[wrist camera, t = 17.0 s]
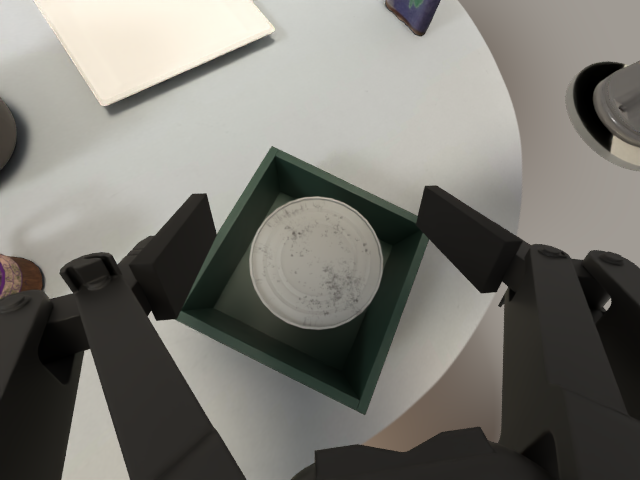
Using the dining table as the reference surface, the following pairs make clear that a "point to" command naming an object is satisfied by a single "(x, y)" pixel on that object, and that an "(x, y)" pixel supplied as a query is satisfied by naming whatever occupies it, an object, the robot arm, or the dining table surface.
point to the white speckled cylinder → (316, 263)
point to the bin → (279, 336)
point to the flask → (414, 13)
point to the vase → (6, 134)
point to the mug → (18, 276)
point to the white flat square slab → (148, 38)
